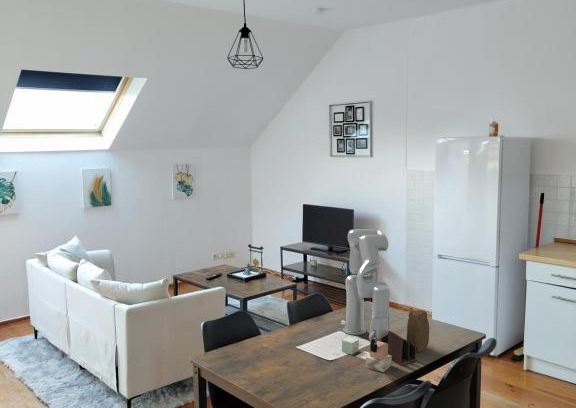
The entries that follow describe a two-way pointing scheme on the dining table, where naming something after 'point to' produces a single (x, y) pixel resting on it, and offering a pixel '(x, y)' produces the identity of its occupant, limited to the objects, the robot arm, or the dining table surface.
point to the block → (418, 329)
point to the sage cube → (350, 345)
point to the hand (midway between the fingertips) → (379, 348)
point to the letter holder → (400, 349)
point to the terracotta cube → (380, 351)
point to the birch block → (378, 363)
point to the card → (363, 355)
